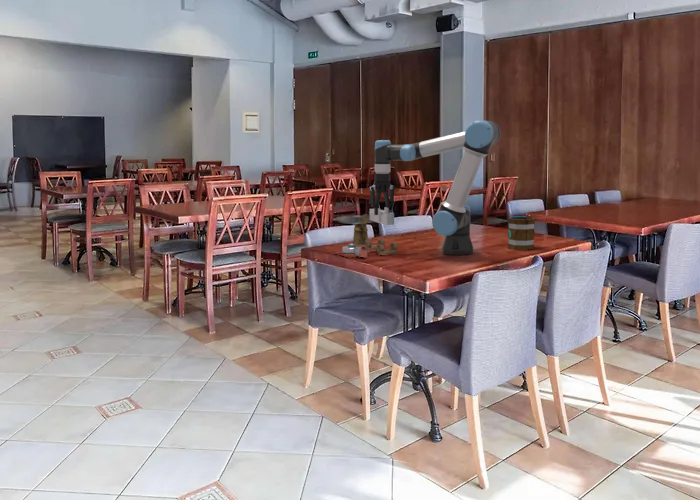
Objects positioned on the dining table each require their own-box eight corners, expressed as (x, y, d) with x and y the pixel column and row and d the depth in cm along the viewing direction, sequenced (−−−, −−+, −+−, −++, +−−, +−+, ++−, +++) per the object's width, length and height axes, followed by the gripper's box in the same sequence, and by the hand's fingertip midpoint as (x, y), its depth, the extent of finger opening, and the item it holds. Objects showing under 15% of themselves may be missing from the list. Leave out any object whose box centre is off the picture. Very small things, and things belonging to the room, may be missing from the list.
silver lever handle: (339, 252, 313) (339, 243, 312) (355, 251, 317) (355, 241, 316) (355, 258, 298) (355, 248, 298) (372, 256, 302) (372, 246, 302)
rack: (397, 254, 311) (397, 243, 311) (381, 256, 307) (381, 245, 306) (380, 249, 325) (380, 239, 324) (364, 251, 321) (364, 241, 320)
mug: (539, 249, 316) (540, 219, 313) (512, 251, 314) (513, 220, 311) (523, 243, 335) (524, 214, 332) (498, 244, 333) (499, 215, 330)
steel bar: (394, 224, 309) (394, 213, 308) (386, 225, 307) (386, 213, 306) (376, 219, 324) (376, 208, 323) (369, 220, 322) (369, 209, 321)
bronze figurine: (357, 249, 325) (357, 214, 322) (349, 245, 338) (349, 211, 335) (374, 248, 328) (374, 213, 325) (366, 244, 340) (365, 210, 337)
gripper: (393, 171, 317) (393, 219, 322) (362, 172, 310) (362, 221, 314) (401, 172, 311) (401, 221, 315) (370, 173, 303) (370, 223, 308)
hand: (382, 221), depth 315 cm, fingers closed on steel bar, 4 cm apart
